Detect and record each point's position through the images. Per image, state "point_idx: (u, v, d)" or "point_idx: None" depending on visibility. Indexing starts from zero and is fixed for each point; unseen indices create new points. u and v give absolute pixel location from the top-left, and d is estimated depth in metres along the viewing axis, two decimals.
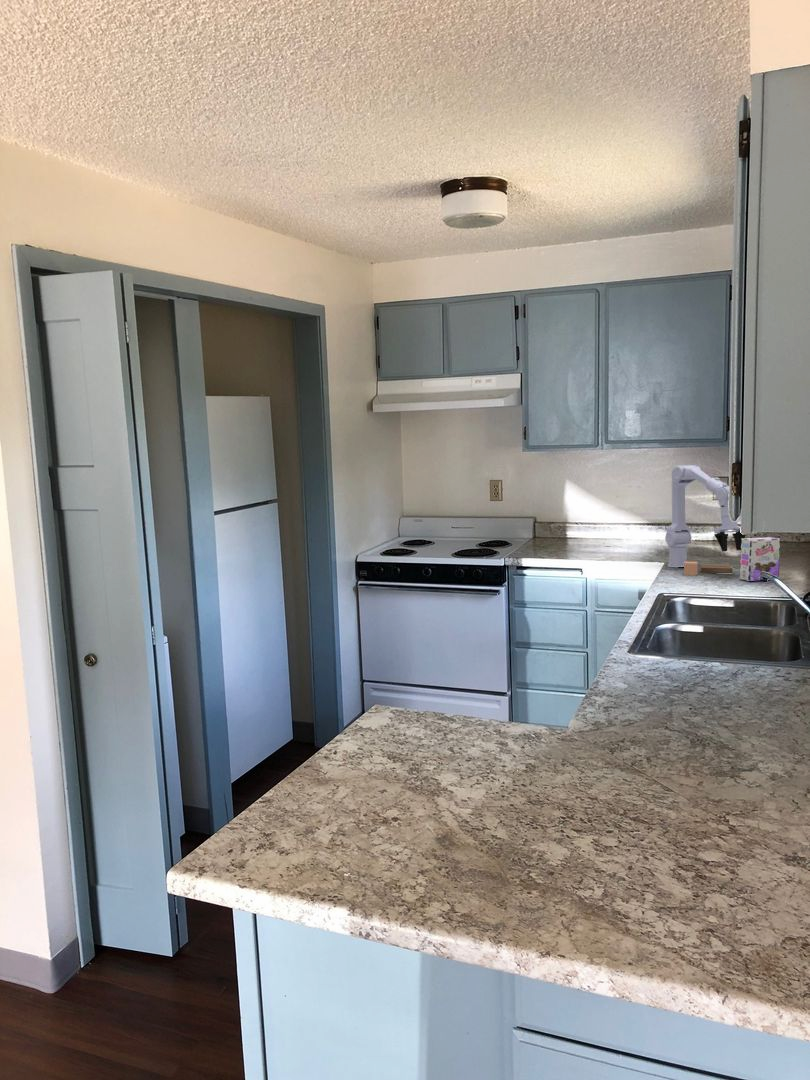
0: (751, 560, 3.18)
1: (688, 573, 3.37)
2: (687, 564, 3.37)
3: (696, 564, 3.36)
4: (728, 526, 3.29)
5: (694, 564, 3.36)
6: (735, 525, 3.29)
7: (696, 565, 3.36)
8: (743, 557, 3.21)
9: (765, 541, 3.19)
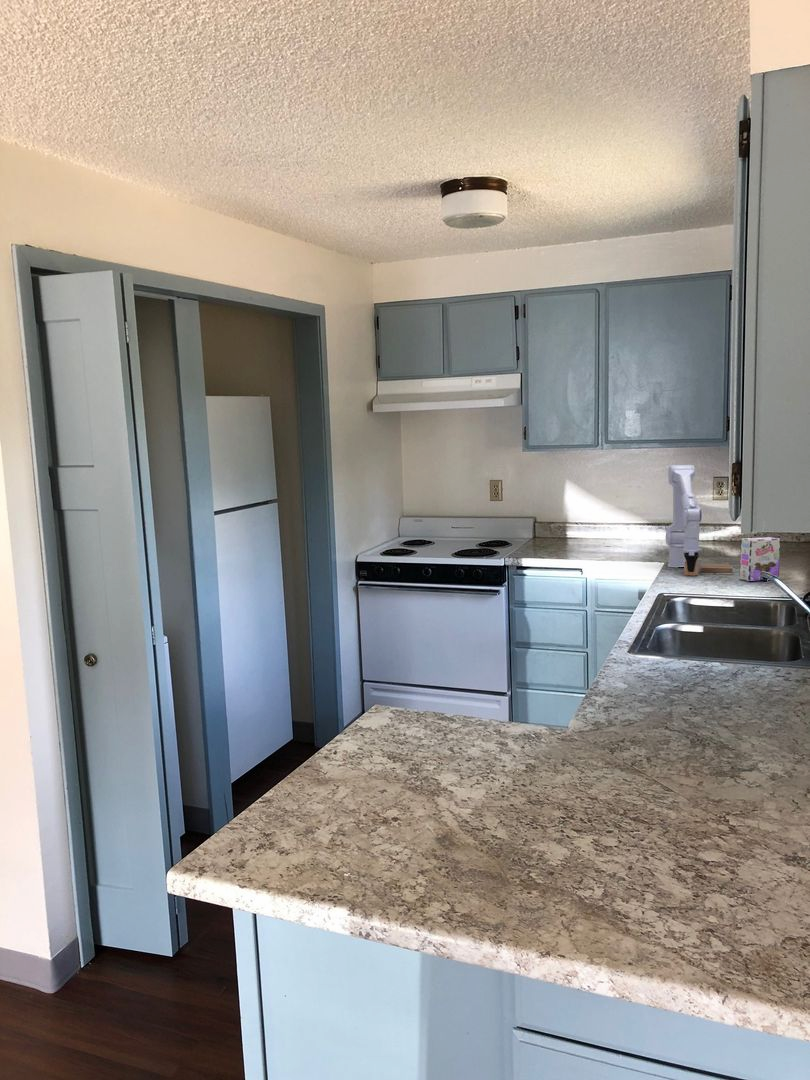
0: (751, 560, 3.18)
1: (688, 573, 3.37)
2: None
3: (696, 564, 3.36)
4: (695, 548, 3.36)
5: None
6: (698, 547, 3.38)
7: (696, 565, 3.36)
8: (743, 557, 3.21)
9: (765, 541, 3.19)
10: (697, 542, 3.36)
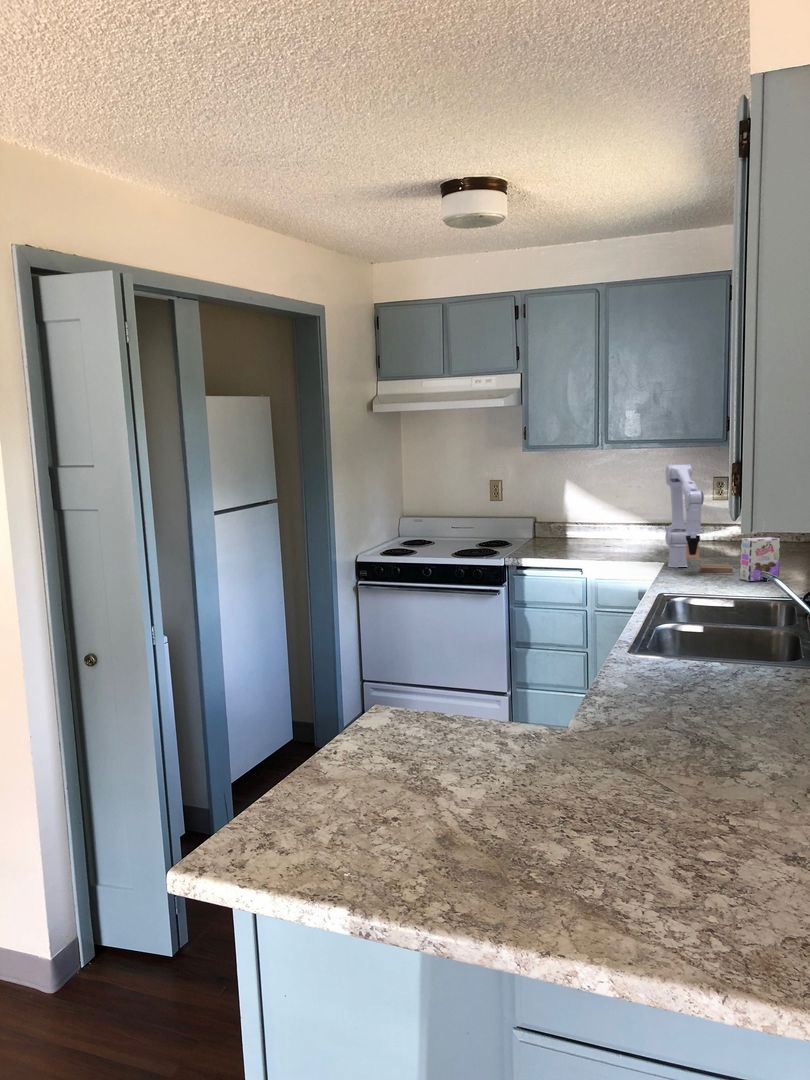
0: (751, 560, 3.18)
1: (690, 556, 3.37)
2: None
3: (698, 547, 3.36)
4: (697, 530, 3.35)
5: None
6: None
7: (698, 548, 3.36)
8: (743, 557, 3.21)
9: (765, 541, 3.19)
10: (699, 525, 3.35)
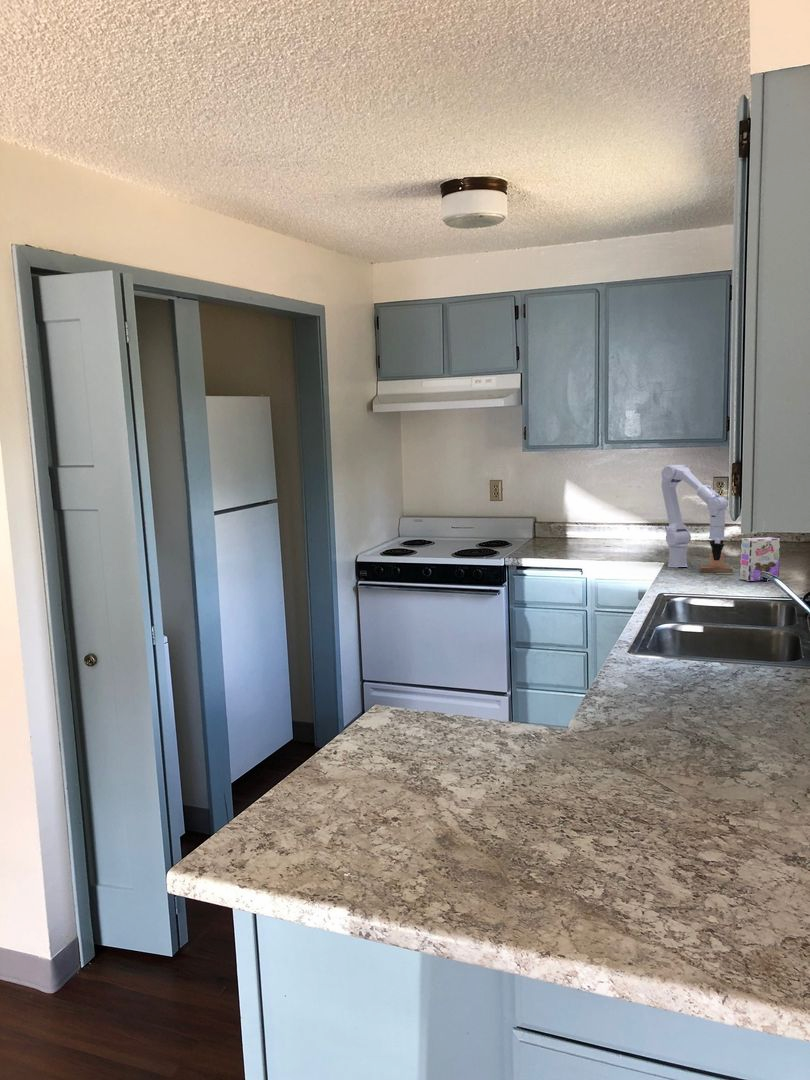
0: (751, 560, 3.18)
1: (714, 564, 3.43)
2: None
3: (722, 556, 3.41)
4: (721, 536, 3.41)
5: (720, 556, 3.42)
6: None
7: (722, 557, 3.41)
8: (743, 557, 3.21)
9: (765, 541, 3.19)
10: (723, 530, 3.41)
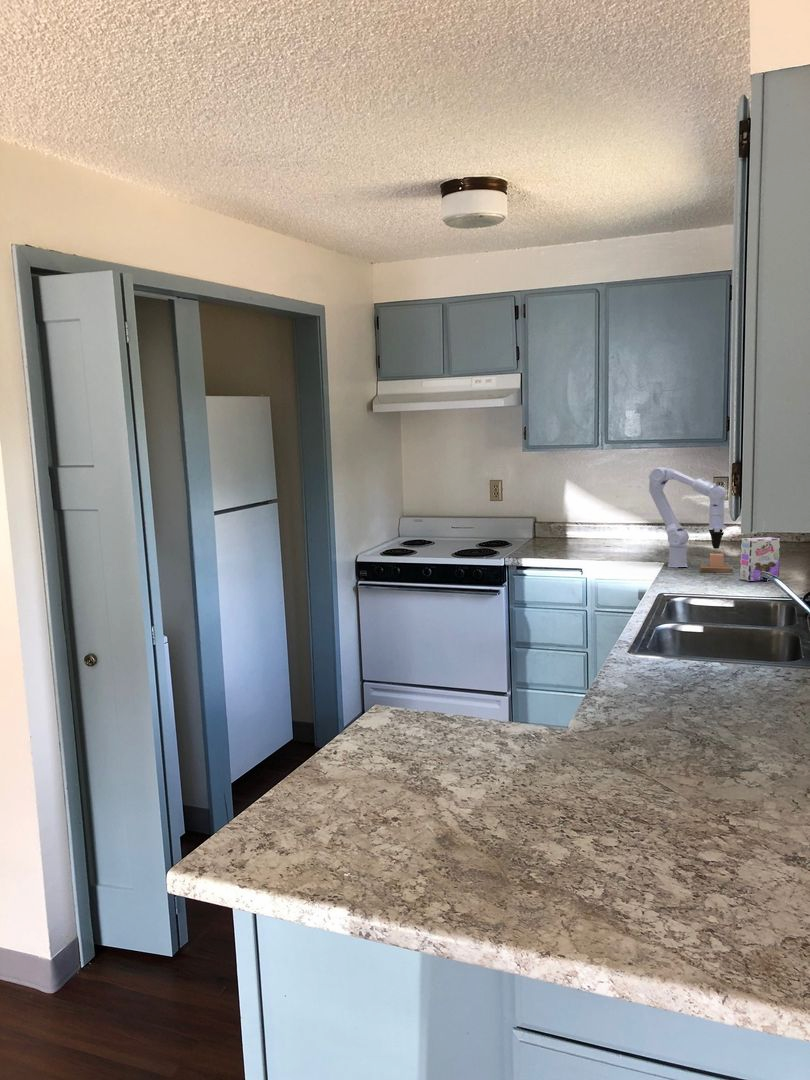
0: (751, 560, 3.18)
1: (714, 565, 3.43)
2: (713, 556, 3.42)
3: (722, 556, 3.41)
4: (720, 525, 3.47)
5: (720, 556, 3.41)
6: None
7: (722, 557, 3.41)
8: (743, 557, 3.21)
9: (765, 541, 3.19)
10: (722, 519, 3.47)
